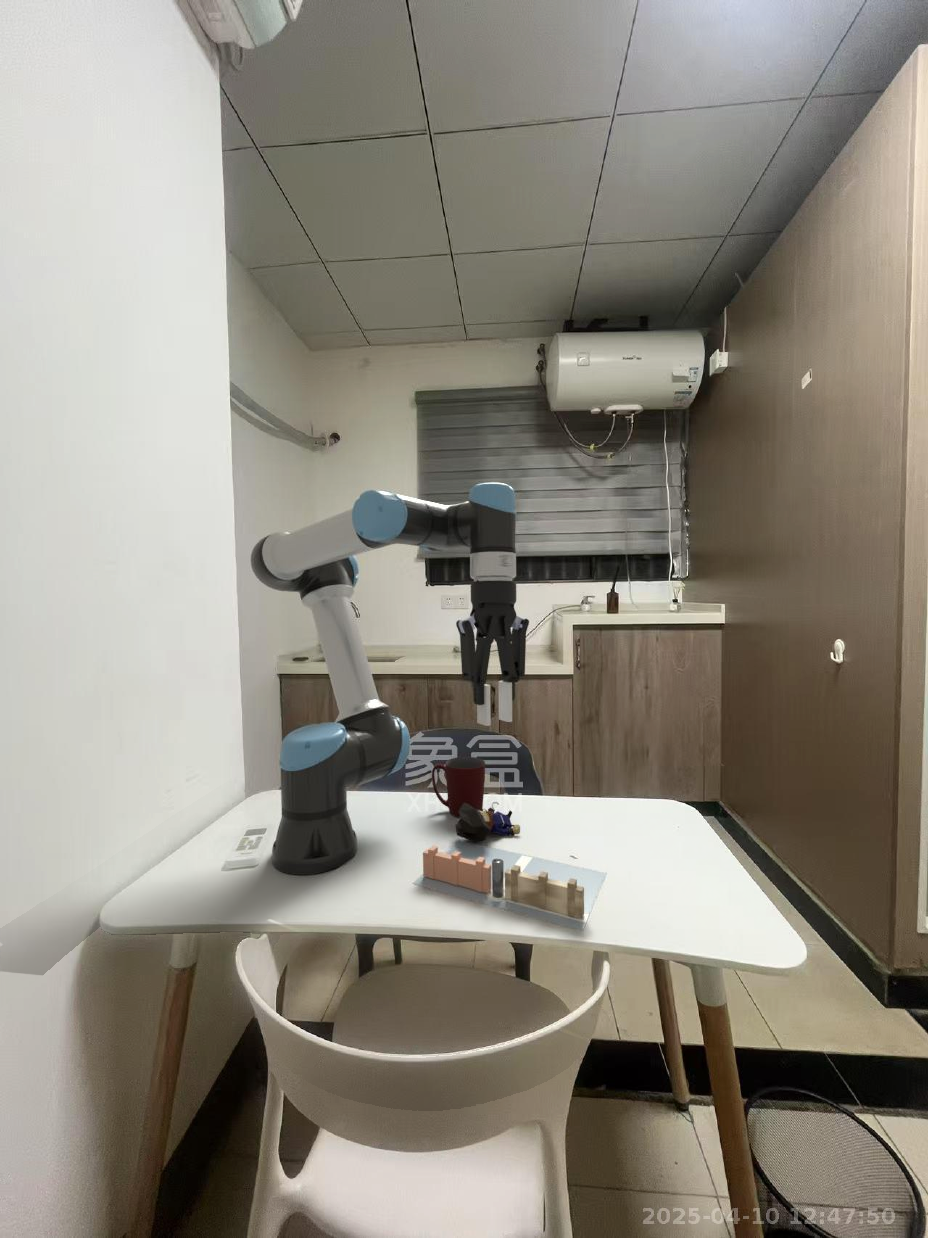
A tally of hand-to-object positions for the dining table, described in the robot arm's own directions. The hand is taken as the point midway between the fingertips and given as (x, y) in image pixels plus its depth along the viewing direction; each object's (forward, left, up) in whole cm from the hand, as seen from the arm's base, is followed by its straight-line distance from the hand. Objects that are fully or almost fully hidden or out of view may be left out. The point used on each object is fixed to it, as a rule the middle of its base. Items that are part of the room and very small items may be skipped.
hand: (494, 722), depth 83 cm
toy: (-8, +15, -27) cm, 32 cm away
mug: (-19, +23, -27) cm, 40 cm away
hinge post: (+2, -4, -27) cm, 27 cm away
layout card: (+2, +1, -27) cm, 27 cm away
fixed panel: (+9, -4, -26) cm, 28 cm away
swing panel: (-5, -4, -26) cm, 27 cm away
